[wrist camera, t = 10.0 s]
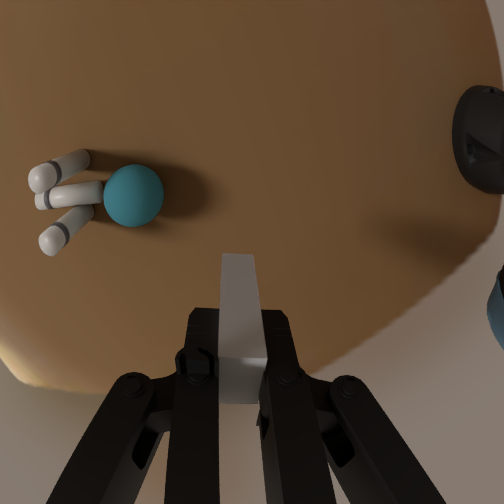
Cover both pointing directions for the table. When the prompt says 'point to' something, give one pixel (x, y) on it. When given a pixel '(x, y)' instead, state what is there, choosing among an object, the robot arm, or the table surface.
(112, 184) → the ball
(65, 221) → the pin
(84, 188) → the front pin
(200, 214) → the table surface
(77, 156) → the pin
